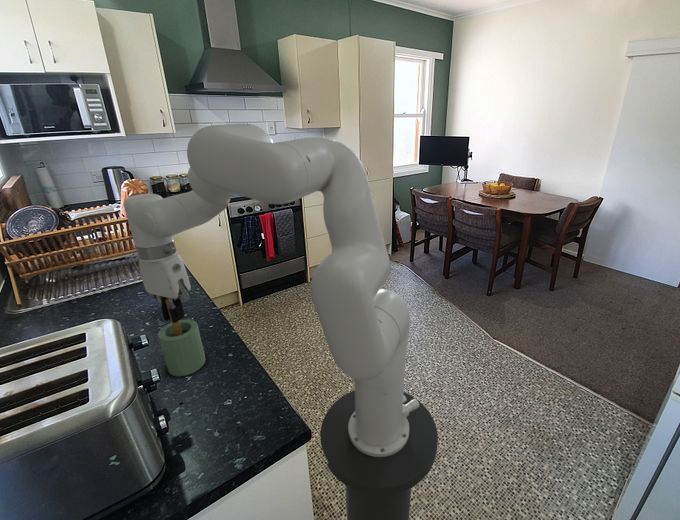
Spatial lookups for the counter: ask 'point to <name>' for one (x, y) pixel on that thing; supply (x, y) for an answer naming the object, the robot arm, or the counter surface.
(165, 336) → the jar
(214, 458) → the counter surface
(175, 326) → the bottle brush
